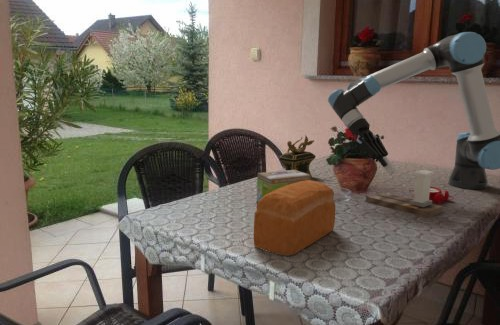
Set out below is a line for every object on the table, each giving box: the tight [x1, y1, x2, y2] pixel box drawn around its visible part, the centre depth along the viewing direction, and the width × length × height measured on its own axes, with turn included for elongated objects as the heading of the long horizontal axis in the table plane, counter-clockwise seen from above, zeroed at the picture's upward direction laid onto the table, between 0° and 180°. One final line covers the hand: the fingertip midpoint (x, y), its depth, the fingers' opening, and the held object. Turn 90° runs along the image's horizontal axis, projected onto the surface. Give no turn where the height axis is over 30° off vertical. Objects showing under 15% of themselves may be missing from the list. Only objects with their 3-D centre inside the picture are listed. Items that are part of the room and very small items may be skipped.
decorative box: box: [278, 134, 316, 177], centre depth 191 cm, size 20×10×20 cm, turn 135°
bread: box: [253, 180, 336, 257], centre depth 116 cm, size 14×26×16 cm, turn 142°
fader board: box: [365, 191, 444, 218], centre depth 147 cm, size 24×10×2 cm, turn 40°
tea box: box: [255, 169, 312, 211], centre depth 135 cm, size 15×10×15 cm
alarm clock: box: [408, 186, 455, 205], centre depth 155 cm, size 10×6×15 cm
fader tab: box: [410, 169, 434, 207], centre depth 140 cm, size 5×6×11 cm
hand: (392, 172), depth 148 cm, fingers closed
